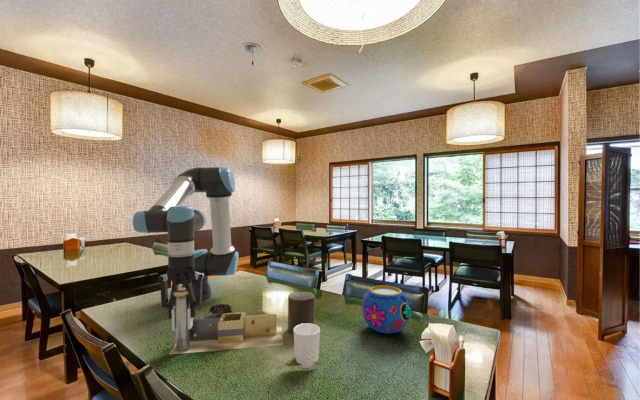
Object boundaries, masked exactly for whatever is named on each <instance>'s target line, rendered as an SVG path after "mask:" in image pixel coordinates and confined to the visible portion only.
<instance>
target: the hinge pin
mask: <svg viewBox="0 0 640 400" xmlns="http://www.w3.org/2000/svg"><path fill="white" fill-rule="evenodd" d="M187 295H189V291H186V288H185V287H183V288H181V287H178V289H177V290H176V291H175V292H173V296H175V305H174V307H175V326H176V329H175V344H176V350H184V349H187V348H188V347H189V346H190V329H188V308H189V306H190V304H189V300H188V296H187Z"/></svg>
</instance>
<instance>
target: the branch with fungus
mask: <svg viewBox="0 0 640 400" xmlns="http://www.w3.org/2000/svg"><path fill="white" fill-rule="evenodd" d="M232 307H233V306H231V305H230V304H226V303H219V304H215V305H211V307H210V308H209V312H208V313H206V314H205V313H204V314H203V315H201V316H197V317H194V319H205V318H220V317H221V315H222V313H233V311H232Z"/></svg>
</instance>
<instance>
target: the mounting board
mask: <svg viewBox="0 0 640 400" xmlns="http://www.w3.org/2000/svg"><path fill="white" fill-rule="evenodd" d="M276 328H277V335H267V336H254V337H244V341H243V342H239V343H227V344H218V339H215V340H202V341H190V346H189V347H188V348H187V349H184V350H176V343H175V344H174V346H173V347H172V349H170V352H169V353H168V354H167V355H178V354H192V353H201V352H204V353H206V352H214V351H215V352H216V351H225V350H238V349H251V348H263V347H275V346H277V347H278V346H284V342H283V340H284V339H283V324H282V323H276Z"/></svg>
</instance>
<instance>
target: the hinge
mask: <svg viewBox="0 0 640 400" xmlns="http://www.w3.org/2000/svg"><path fill="white" fill-rule="evenodd" d="M276 324H277V313H270V314H269V313H267V314H253V315H246V311H241V312H239V311H238V312H232V313H222V315H221V317H220V318H205V319H195V318H193V326H192V327H191V329H190V341H202V340H215V339H218V344H227V343H239V342H243V341H244V337H254V336H267V335H277V328H276Z"/></svg>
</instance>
